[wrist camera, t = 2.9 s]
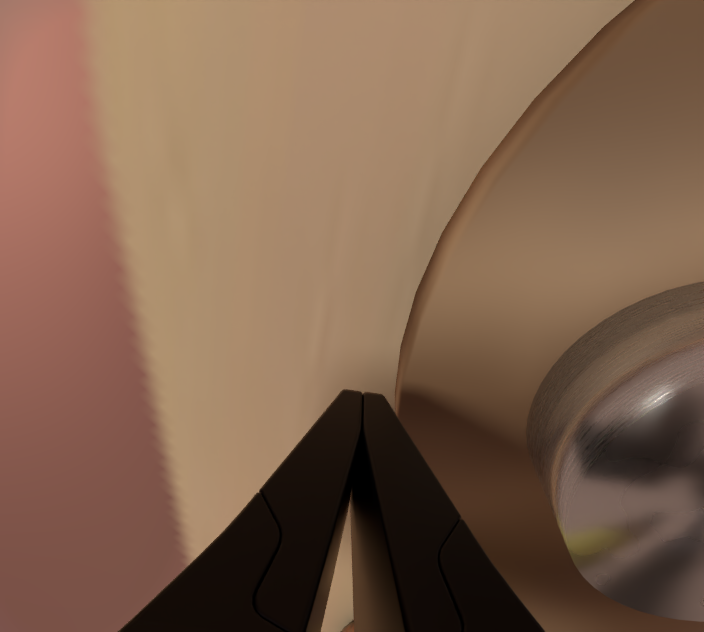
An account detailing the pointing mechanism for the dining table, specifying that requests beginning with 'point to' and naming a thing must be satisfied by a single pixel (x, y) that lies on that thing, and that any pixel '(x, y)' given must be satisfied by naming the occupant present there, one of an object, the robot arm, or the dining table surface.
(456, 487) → the turntable
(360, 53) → the dining table surface
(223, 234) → the dining table surface
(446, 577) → the robot arm
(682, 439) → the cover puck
